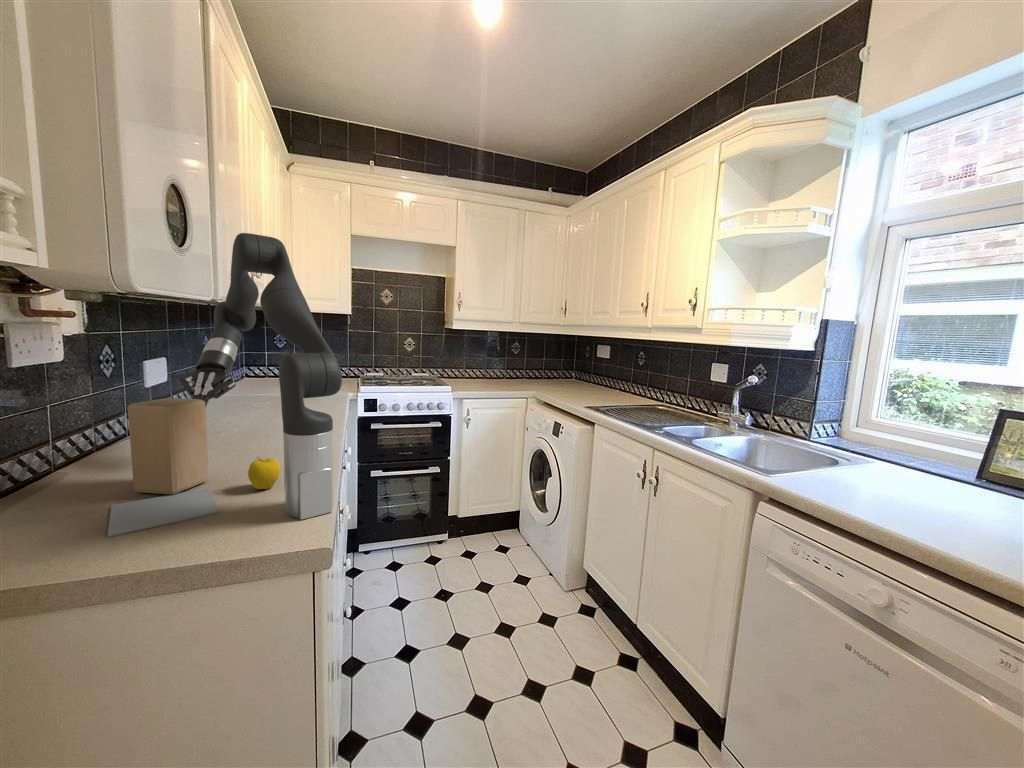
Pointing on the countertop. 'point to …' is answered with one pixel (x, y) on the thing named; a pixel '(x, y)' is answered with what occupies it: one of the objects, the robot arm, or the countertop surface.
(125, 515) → the mat
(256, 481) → the apple
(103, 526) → the countertop surface
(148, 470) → the block
